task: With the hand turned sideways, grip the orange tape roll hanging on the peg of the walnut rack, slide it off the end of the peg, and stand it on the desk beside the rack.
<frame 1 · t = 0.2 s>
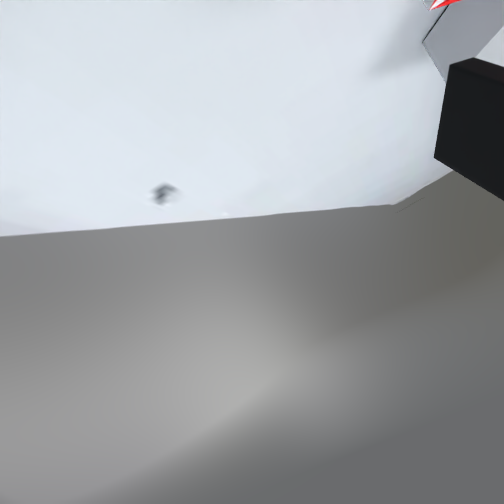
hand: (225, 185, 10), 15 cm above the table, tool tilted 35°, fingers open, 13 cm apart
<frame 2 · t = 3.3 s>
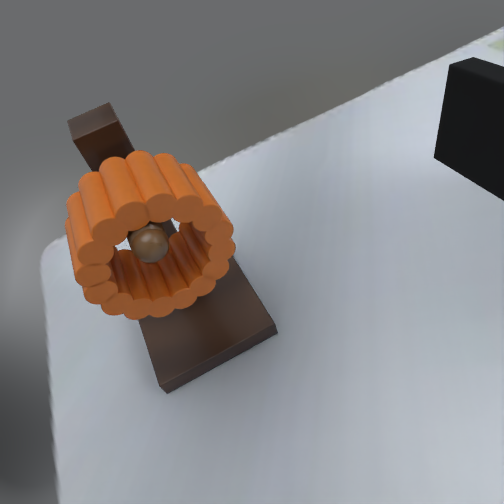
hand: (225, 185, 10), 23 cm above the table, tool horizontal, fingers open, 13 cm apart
tape roll: (177, 282, 28), point 8 cm above the table, touching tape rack
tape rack: (188, 287, 39), on the table
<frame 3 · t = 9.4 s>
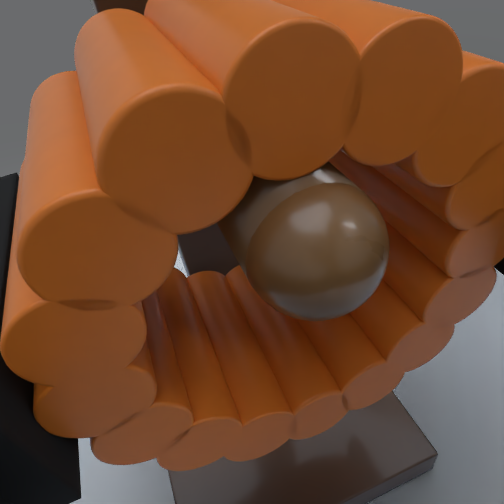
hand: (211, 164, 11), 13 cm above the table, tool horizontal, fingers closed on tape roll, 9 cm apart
tape roll: (280, 358, 12), point 9 cm above the table, touching gripper, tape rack
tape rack: (243, 348, 22), on the table
when the fingers open (5 cm above the table, at t = 17.9 s): tape roll stays where it is, on the table.
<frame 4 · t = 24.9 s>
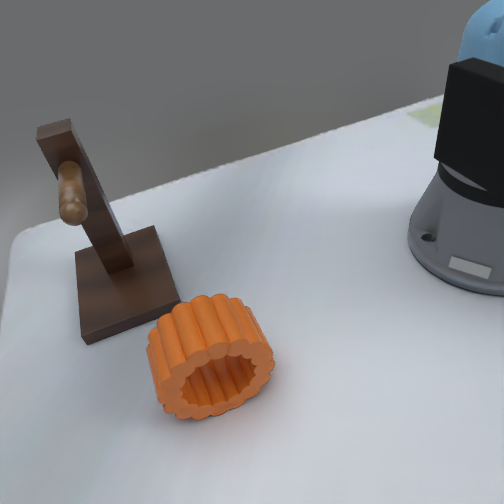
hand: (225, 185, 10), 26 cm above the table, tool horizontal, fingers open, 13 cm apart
tape roll: (211, 390, 35), on the table, tilted 11°
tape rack: (124, 271, 48), on the table
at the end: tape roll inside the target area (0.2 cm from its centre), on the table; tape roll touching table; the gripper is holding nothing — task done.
